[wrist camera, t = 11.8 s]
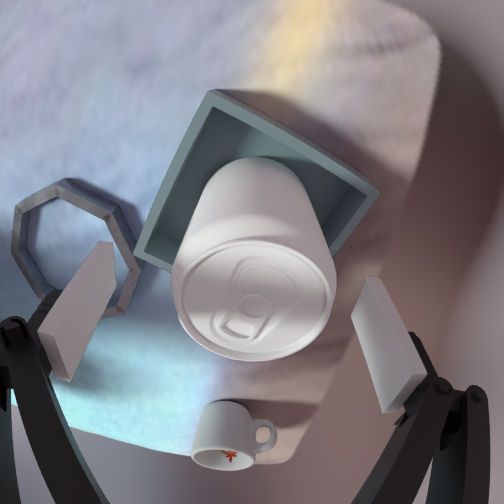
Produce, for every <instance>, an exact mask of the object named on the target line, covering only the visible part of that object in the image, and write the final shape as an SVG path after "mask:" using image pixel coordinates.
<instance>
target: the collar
mask: <svg viewBox="0 0 504 504" xmlns="http://www.w3.org/2000/svg"><path fill="white" fill-rule="evenodd" d="M56 196H57V197H59V198H61V199H63V200H65V201H67V202H69V203H71V204H73V205H75V206H77V207H79V208H81V209H83V210H85V211H87V212H89V213H91V214H93V215H95V216H96V217H98V218H100V219H102V220H104V221H105V223H106V225H107V227H108V229H109V231H110V233H111V235H112V237H113V239H114V241H115V243H116V245H117V247H118V249H119V251H120V253H121V255H122V257H123V259H124V261H125V263H126V264H127V266H128V268H129V273H128V275H127V278H126V281H125V283H124V286H123V289H122V292H121V295H120V298H115V299H111V300H109V302H108V304H107V306H106V308H105V310H104V312H103V314H102V316H101V318H104V317H110V316H115V315H121V314H125V312H126V310H127V307H128V305H129V303H130V300H131V298H132V295H133V292H134V290H135V287H136V285H137V282H138V280H139V277H140V275H141V272H142V270H143V267H144V265H145V263H146V262H145V260H143V259H141V258H138V257H136V256H134V255H133V252H134V249H135V247H136V244H137V243H136V241H135V239H134V237H133V235H132V233H131V231H130V229H129V227H128V225H127V222H126V220H125V218H124V216H123V214H122V211H121V209H120V207H119V205H117V204H115V203H113V202H111V201H109V200H107V199H105V198H103V197H101V196H99V195H97V194H95V193H93V192H91V191H89V190H87V189H85V188H83V187H81V186H79V185H77V184H75V183H73V182H71V181H69V180H67V179H65V178H63V179H61V180H59V181H57V182H55V183H53V184H51V185H49V186H48V187H46V188H44V189H42V190H40V191H38V192H36V193H34V194H32V195H31V196H29V197H27V198H25V199H23V200H22V201H21V202H19V203H18V204H17V205H15V211H14V220H13V231H12V244H11V253H12V255H13V257H14V259H15V261H16V262H17V264H18V266H19V267H20V269H21V271H22V273H23V274H24V276H25V277H26V279H27V281H28V282H29V284H30V286H31V287H32V289H33V290H34V292H35V293H36V295H37V296H38V298H40V299H42V300H43V299H44V298H45V296H46V295H47V294H49V293H50V292H51V291H53V290H54V289H55V288H53V287H51V286H49V285H48V284H47V282H46V281H45V279H44V278H43V276H42V274H41V273H40V271H39V269H38V268H37V266H36V264H35V262H34V261H33V259H32V257H31V255H30V254H29V252H28V250H27V248H26V237H27V228H28V221H29V214H30V209H32V208H34V207H36V206H38V205H40V204H42V203H44V202H46V201H48V200H50V199H52V198H54V197H56Z"/></svg>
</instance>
